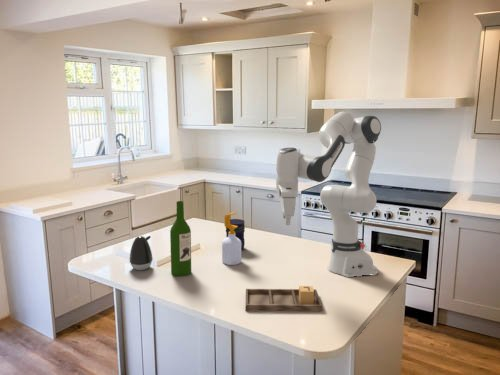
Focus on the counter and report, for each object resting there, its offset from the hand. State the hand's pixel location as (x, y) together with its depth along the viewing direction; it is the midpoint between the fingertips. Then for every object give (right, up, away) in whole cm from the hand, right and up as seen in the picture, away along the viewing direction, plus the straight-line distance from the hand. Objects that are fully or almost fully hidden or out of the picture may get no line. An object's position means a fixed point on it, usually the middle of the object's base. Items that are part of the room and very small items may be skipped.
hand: (286, 221), depth 171 cm
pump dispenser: (-65, -23, +21) cm, 72 cm away
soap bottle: (-24, -22, +30) cm, 44 cm away
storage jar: (-23, -19, +48) cm, 56 cm away
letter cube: (+7, -29, -12) cm, 32 cm away
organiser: (-3, -30, -12) cm, 32 cm away
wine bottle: (-46, -24, +16) cm, 54 cm away
